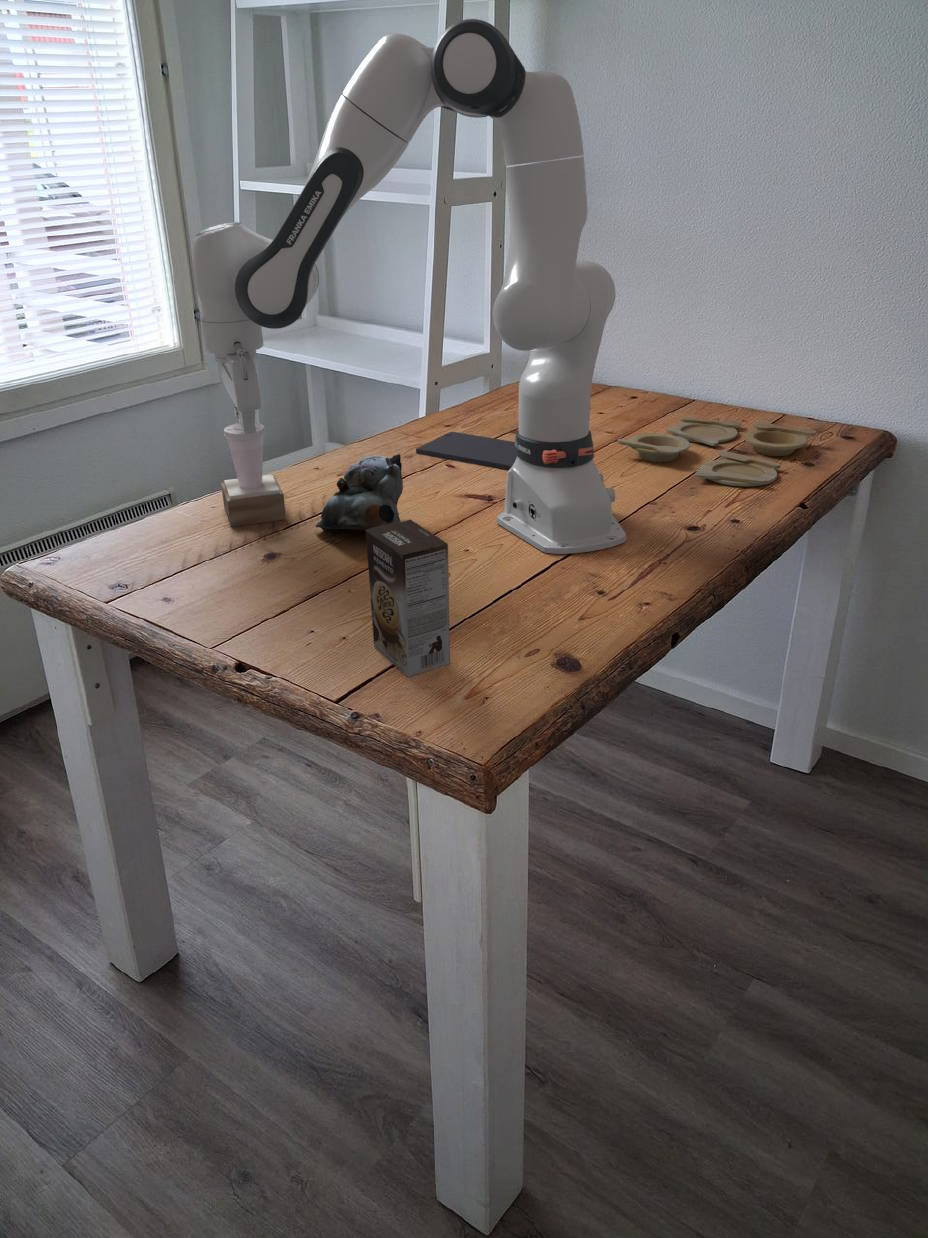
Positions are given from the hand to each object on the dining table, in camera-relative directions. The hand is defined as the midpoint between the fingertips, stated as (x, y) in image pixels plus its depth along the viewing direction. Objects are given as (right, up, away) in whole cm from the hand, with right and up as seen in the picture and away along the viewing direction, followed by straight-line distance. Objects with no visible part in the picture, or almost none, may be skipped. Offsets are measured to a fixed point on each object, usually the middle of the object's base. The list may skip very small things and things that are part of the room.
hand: (245, 425), depth 160 cm
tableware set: (+83, 0, +31) cm, 89 cm away
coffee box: (+28, -36, -36) cm, 58 cm away
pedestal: (0, -13, +7) cm, 15 cm away
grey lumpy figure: (+19, -17, 0) cm, 25 cm away
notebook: (+38, +1, +34) cm, 51 cm away
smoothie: (0, -9, +5) cm, 10 cm away
